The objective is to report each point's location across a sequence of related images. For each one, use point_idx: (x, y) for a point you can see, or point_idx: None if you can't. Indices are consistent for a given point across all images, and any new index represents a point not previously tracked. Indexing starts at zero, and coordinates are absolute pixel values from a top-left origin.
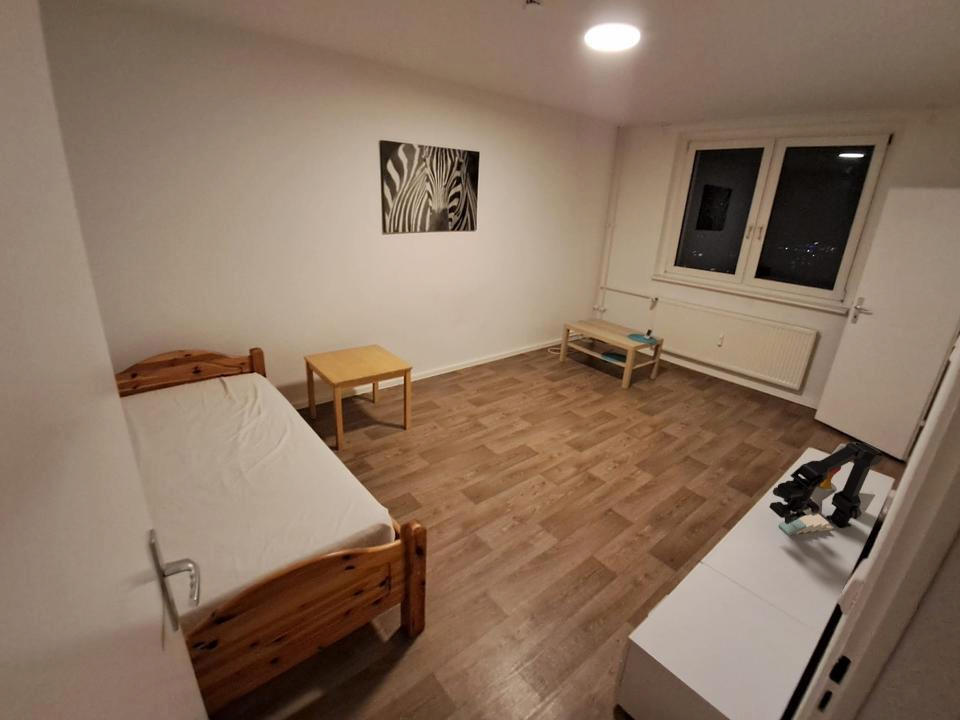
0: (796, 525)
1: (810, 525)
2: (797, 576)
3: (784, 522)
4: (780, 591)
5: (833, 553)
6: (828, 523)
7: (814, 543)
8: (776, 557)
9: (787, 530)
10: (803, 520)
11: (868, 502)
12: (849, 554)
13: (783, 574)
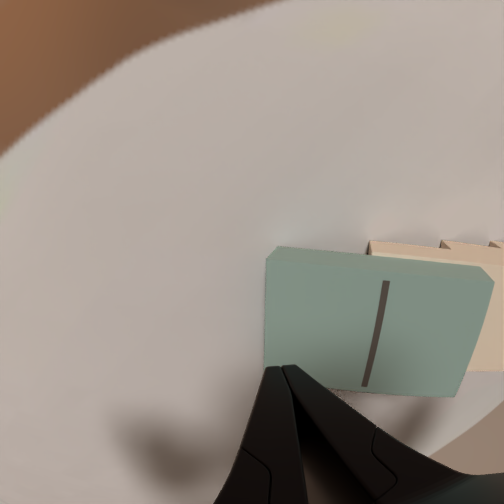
0: (395, 363)
1: (485, 370)
2: (98, 501)
3: (336, 279)
4: (14, 491)
5: (411, 442)
6: None
7: (394, 402)
8: (48, 442)
9: (279, 353)
10: (500, 313)
11: None
12: (461, 430)
13: (45, 481)
